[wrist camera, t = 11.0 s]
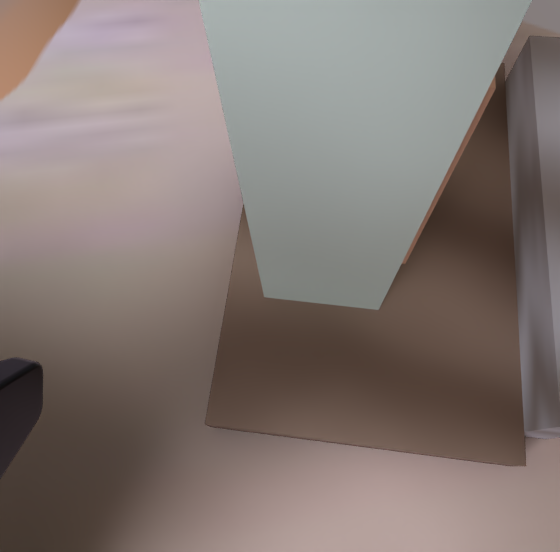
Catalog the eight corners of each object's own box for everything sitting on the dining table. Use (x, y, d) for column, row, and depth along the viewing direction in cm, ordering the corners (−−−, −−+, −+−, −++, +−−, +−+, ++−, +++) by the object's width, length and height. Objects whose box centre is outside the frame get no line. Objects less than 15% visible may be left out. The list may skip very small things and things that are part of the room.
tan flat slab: (554, 472, 16) (621, 473, 12) (210, 426, 17) (189, 417, 13) (525, 86, 21) (566, 18, 18) (272, 69, 22) (267, 1, 19)
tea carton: (387, 311, 17) (563, -6, 5) (264, 297, 17) (193, -26, 6) (396, 143, 19) (529, -309, 8) (288, 134, 19) (272, -309, 8)
